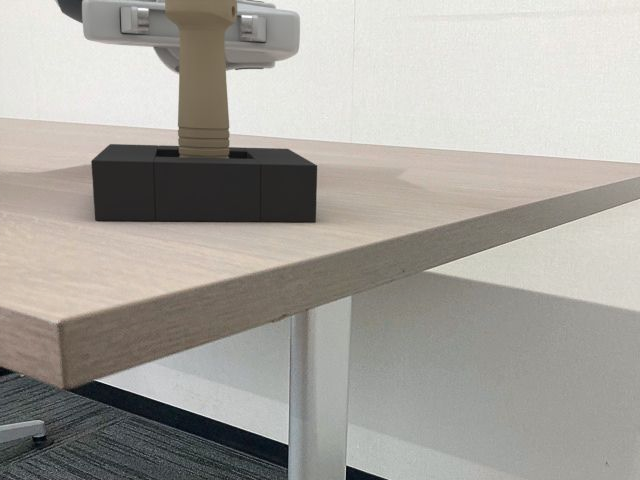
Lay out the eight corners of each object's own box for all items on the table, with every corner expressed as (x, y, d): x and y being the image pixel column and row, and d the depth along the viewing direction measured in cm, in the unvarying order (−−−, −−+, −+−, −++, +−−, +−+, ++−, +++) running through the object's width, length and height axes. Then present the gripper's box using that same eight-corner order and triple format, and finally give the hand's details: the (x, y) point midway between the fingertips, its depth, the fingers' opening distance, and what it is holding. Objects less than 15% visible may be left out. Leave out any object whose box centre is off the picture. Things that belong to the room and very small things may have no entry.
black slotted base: (95, 220, 52) (91, 160, 51) (112, 191, 66) (109, 143, 65) (315, 222, 55) (317, 165, 54) (287, 194, 69) (288, 148, 68)
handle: (246, 202, 63) (246, 4, 59) (221, 213, 57) (218, -7, 53) (191, 198, 64) (186, 2, 59) (159, 208, 58) (151, -9, 53)
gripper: (86, -10, 77) (68, -29, 64) (289, 6, 81) (310, -9, 69) (89, 58, 79) (73, 52, 66) (287, 69, 83) (308, 66, 71)
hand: (195, 21), depth 67 cm, fingers open, 8 cm apart
